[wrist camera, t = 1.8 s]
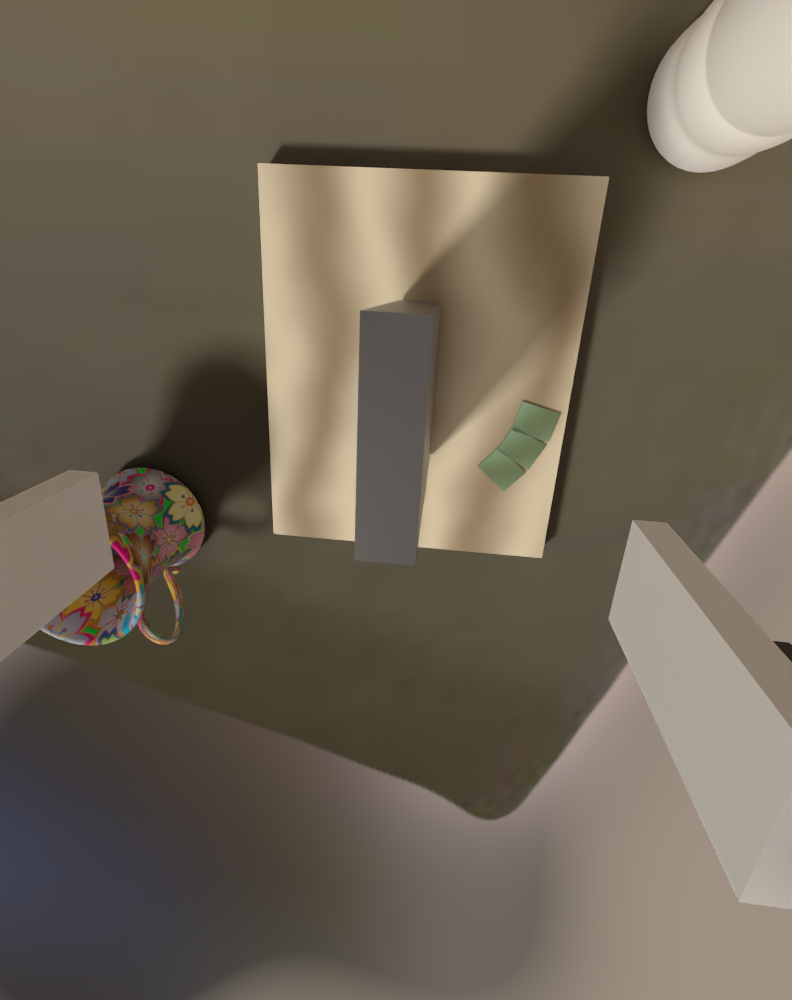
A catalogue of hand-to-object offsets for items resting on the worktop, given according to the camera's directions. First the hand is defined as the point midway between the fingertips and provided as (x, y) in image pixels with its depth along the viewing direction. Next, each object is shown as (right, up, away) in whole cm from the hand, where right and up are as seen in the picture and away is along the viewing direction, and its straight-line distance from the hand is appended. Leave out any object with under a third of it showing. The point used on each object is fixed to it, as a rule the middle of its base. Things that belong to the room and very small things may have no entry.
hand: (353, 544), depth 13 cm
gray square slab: (+2, +7, +22) cm, 23 cm away
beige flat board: (+2, +9, +23) cm, 25 cm away
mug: (-17, -1, +29) cm, 34 cm away
